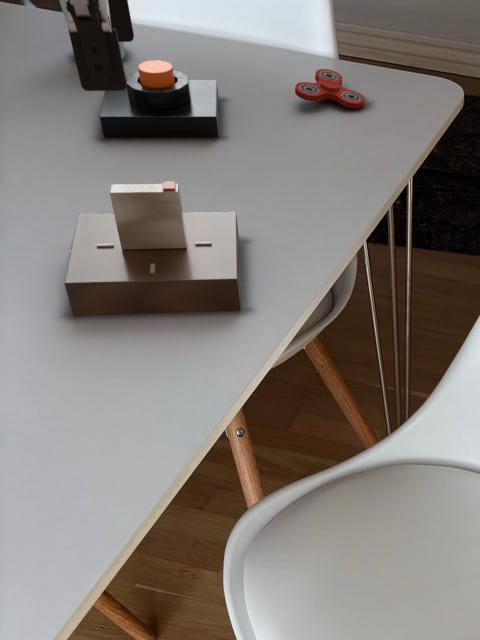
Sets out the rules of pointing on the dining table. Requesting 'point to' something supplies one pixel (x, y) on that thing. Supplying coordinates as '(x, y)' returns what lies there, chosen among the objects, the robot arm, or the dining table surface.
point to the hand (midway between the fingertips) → (109, 63)
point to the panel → (155, 269)
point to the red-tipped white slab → (149, 215)
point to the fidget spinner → (329, 90)
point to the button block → (162, 110)
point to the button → (156, 74)
